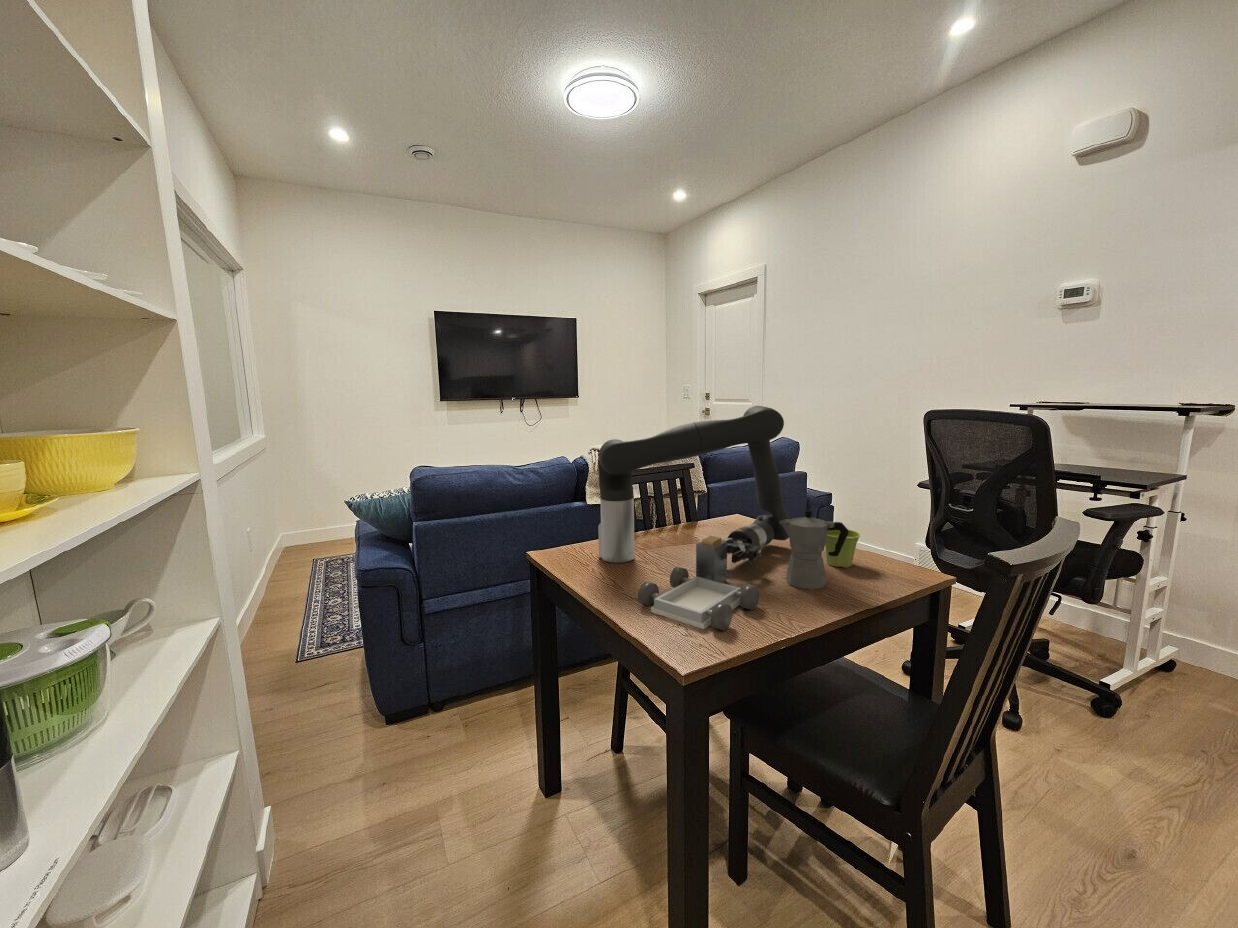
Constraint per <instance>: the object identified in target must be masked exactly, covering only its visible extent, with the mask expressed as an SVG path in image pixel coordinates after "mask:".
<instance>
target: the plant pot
mask: <svg viewBox="0 0 1238 928" xmlns="http://www.w3.org/2000/svg"><path fill="white" fill-rule="evenodd" d="M847 529H848V528H847ZM840 533H841V532H840V531H839V530H828V533H827V538H826V542H825V547H824V550H825V558H826V563H827V564H828V565H829V566H832V567H834V566H835V568H840V567H843V568H846V569H847V568H849V567H850V568H851V566H852V565H853V561H854V556H855V551H856V549H857V548H856V547H857V543H858V542H859V538H860V537H861V533H860V532H858V531H856V530H853V529H848V535H847V537H846V539H845V542H844V544H843V546H842V548H841V551H840V553H839V555H838V556H830V555H829V553H828V552H834V551H835V545H836V543H837V541H838V537H839V534H840Z"/></svg>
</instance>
